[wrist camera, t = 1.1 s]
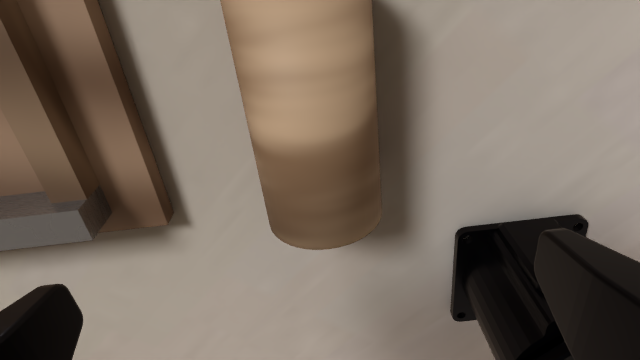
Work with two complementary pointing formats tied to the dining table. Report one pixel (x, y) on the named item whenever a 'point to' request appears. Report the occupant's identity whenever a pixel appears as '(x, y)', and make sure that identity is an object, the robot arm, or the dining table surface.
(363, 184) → the tan wooden cylinder
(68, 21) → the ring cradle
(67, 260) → the dining table surface
